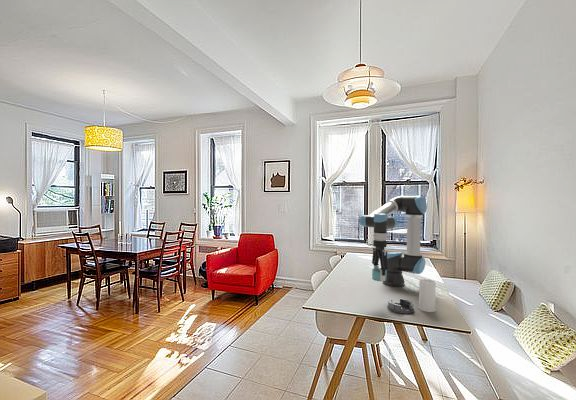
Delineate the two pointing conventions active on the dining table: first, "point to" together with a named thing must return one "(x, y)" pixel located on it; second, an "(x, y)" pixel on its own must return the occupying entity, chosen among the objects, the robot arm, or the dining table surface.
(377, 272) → the cap
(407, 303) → the dark grey round bowl
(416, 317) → the dining table surface
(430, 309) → the cup
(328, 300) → the dining table surface
